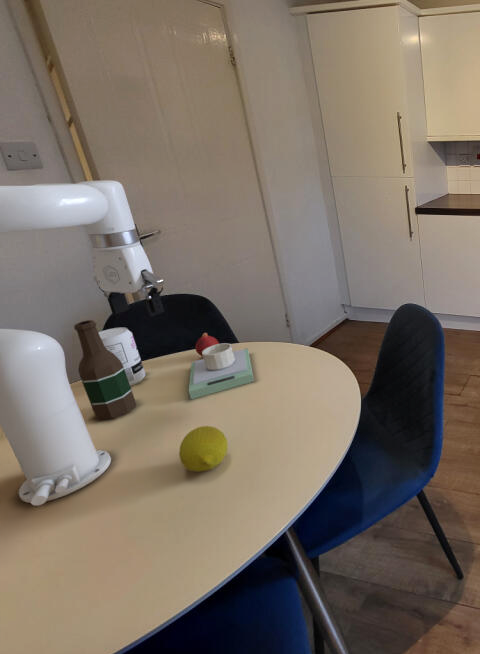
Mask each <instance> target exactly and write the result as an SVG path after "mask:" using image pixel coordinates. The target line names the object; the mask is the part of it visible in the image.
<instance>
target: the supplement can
mask: <svg viewBox="0 0 480 654" xmlns="http://www.w3.org/2000/svg"><path fill="white" fill-rule="evenodd" d="M98 333H99V335H100V338H101V340H102V342H103V344H104V346H105V348H106V349H107V350H108V351H110V352H112V353H113V354H114V355H115V356H116V357H117V358H118V359H119V360H120V361H121V363H122V365H123V367H124V370H125V373H126V376H127V378H128V381H129V384H130V387H132V386H134V385H136V384H138V383H140V382H141V381H143V380H144V378H145V376H146V371H145V367H144V364H143V362H142V359H141V356H140V352H139V350H138V346H137V344H136V341H135V338H134V334H133V332H132V331H130V330H129V329H128V327H120V326H119V327H114V328H108V329H105V330H102V331H98Z"/></svg>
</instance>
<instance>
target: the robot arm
mask: <svg viewBox="0 0 480 654" xmlns="http://www.w3.org/2000/svg"><path fill="white" fill-rule="evenodd" d="M77 226H85V229H86V232H87V235H88V238H89V241H90V244H91V259H92V266H93V269H94V273H95V276H93V281H94V282H95V283H96V284H97V286H98V288H99V290H100V291H101V292H102V293H103V296H104V297H105V299H107V302H108V305H109V308H110V310H111V313H112V315H118V314H120V313H124V312H125V311H128V310H129V309H130V307H129V304H128V300H127V297H126V294H134V293H137V292H138V293H139V294H140V295H142V297H143V298H144V299H143V304H144V307H145V310H146V314H147V316H148V317H151V318H153V317H155V316H158V315H160V314H163V313H164V312H165V308H164V305H163V301H162V299H161V297H162V292H163V291H164V288H163V287H164V279H163V278H162V277H160V276H158V275H157V274H154V271H153V268H152V265H151V262H150V260H149V258H148V256H147V254H146V251H145V249H144V247H143V246H142V244H141V241H140V238H139V234H138V231H137V228H136V224H135V221H134V218H133V215H132V211H131V208H130V204H129V201H128V198H127V195H126V191H125V188H124V185H123V184H122V183H120V182H119V181H117V180H114V179H113V180H111V179H103V180H89V181H88V180H87V181H79V182H76V183H37V184H32V185H0V235H1V234H8V233H18V232H29V231H40V230H52V229H60V228H70V227H77ZM147 290H149V292H148V291H147ZM69 381H70V380H69V378H68V374H67V368H66V357H65V352H64V349H63V347H62V345H61V344H60V343H59V342H58V341H57V339H55V338H53V337H51V336H49V335H48V334H46V333H43V332H38V331H34V330H28V329H14V328H0V427H1V429H2V430H3V431H2V432H4V435H5V437H6V440H7V442H8V444H9V446H10V447H11V450H12V451H13V454H14V456H15V458H16V460H17V462H18V465H19V467H20V468H21V471H22V473H23V476H24V477H25V479H26V480H25V481H24V482H23V483H22V484H21V486H20V488H19V489H18V495H19V498H20V500H21V501H22V502H25V503H29V504H31V505H32V506H37V507H38V506H41V505H43V504H45V503H46V502H50V501H53V500H57V499H59V498H62V497H65V496H67V495H69V494H71V493H74V492H76V491H78V490H80V489H82V488H84V487H86V486H87V485H89V484H91V483H92V482H93V481H95V480H97V479H98V478H99V477H101V475H102V474H104V473H105V471H106V470H108V468H109V467H110V465H111V462H112V457H111V456H110V455H111V454H110V453H108V452H107V451H106V450H103V449H102V450H100V449H99V450H98V449H96V447H95V444H94V442H93V440H92V437H91V434H90V433H89V430H88V427H87V425H86V423H85V419H84V417H83V414H82V412H81V410H80V407H79V405H78V402H77V400H76V397H75V395H74V393H73V389H72V387H71V384H70V382H69Z"/></svg>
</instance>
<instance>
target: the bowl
mask: <svg viewBox="0 0 480 654" xmlns="http://www.w3.org/2000/svg"><path fill="white" fill-rule="evenodd" d="M233 352H234V350H233V346H232V344H231V343H226V342H224V343H219V344H217V345H213V346H210V347H208V348H206V349H204V350H203V351H202V355H203V356H202V359H204V362H205V366H206V368H207V369H211V370H219V369H223V368H226V367H228V366H230V365H231V364H232V363H233V362H234V361H235V357H234V353H233Z"/></svg>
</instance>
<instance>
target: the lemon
mask: <svg viewBox="0 0 480 654" xmlns="http://www.w3.org/2000/svg"><path fill="white" fill-rule="evenodd" d="M227 452H228V438H227V436H226V435H225V433H224V432H223V431H222V430H221V429H219V428H217V427H216V426H215V427H214V426H209V425H203V426H199V427H197V428H194V429H192V430H191V431H189V432H188V433H186V435H185V436H184V438H183V439H182V441H181V442H180V445H179V451H178V454H179V455H178V456H179V459H180V462H181V463H180V464H182V466H183V467H184V468H185V469H186V470H188V471H191V472H195V473H197V472H198V473H199V472H200V473H201V472H207V471H211V470H212V469H214V468H216V467H217V466H219V465H220V464H221V463H222V462H223V461H224V459H225V457H226V454H227Z"/></svg>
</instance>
